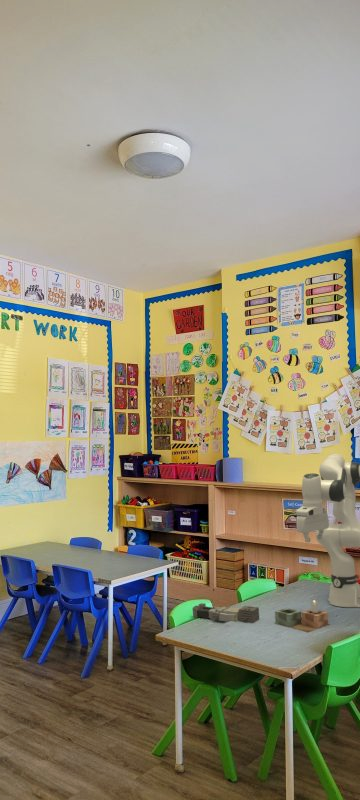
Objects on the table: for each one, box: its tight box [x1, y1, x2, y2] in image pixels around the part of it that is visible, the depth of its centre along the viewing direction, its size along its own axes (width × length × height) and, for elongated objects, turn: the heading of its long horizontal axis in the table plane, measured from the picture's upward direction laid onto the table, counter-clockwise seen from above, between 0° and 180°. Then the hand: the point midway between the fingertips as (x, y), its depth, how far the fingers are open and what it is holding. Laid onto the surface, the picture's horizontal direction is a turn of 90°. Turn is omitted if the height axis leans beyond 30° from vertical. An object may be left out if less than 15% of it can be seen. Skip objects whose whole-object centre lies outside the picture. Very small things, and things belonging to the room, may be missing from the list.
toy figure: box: [191, 602, 260, 624], centre depth 260 cm, size 11×7×30 cm
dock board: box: [274, 607, 331, 633], centre depth 248 cm, size 16×18×6 cm
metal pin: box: [310, 599, 319, 614], centre depth 247 cm, size 3×3×10 cm
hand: (314, 540), depth 258 cm, fingers open, 8 cm apart
